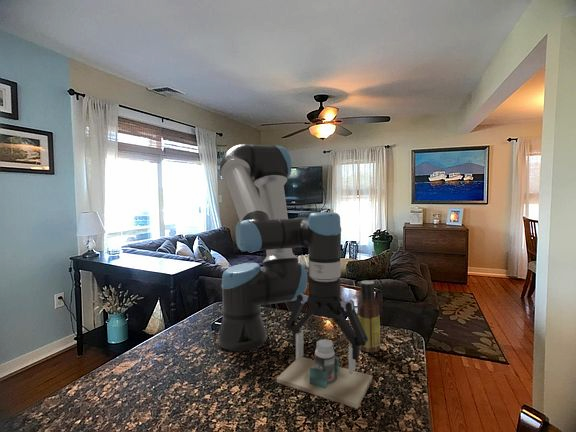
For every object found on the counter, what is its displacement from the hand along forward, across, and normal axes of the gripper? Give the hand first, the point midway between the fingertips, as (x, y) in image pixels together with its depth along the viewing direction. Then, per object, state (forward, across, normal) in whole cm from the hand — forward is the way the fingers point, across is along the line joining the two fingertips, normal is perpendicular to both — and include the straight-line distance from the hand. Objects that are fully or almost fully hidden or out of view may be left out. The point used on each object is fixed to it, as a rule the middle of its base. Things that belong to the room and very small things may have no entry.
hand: (324, 364), depth 77 cm
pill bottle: (+3, 0, 0) cm, 3 cm away
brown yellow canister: (+4, +5, +21) cm, 22 cm away
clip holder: (+4, 0, 0) cm, 4 cm away
